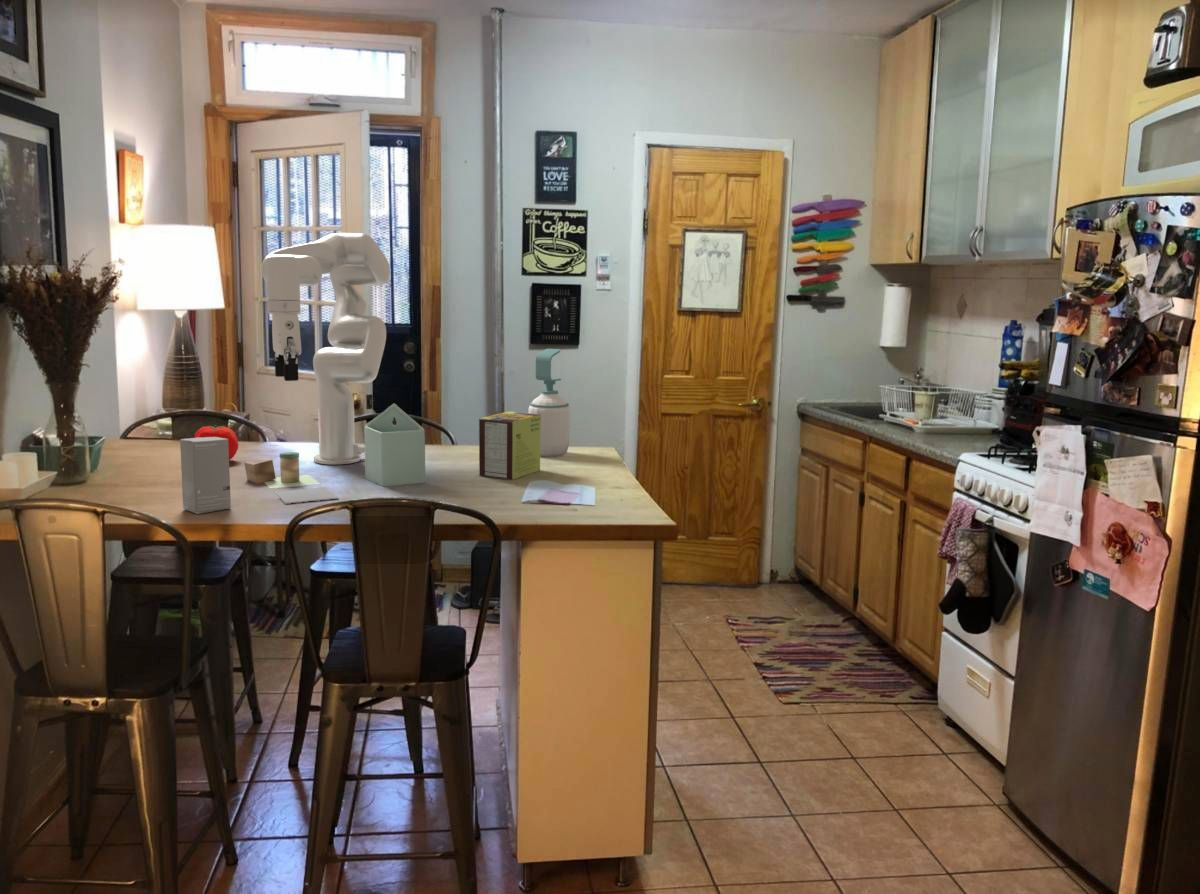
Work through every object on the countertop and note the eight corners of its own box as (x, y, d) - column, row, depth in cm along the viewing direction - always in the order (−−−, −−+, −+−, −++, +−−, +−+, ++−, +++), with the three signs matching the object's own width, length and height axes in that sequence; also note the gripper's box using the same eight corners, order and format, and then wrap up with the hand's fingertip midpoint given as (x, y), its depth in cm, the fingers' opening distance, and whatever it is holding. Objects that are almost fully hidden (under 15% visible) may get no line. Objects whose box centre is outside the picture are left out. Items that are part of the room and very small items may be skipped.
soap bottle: (577, 453, 283) (579, 349, 277) (553, 460, 272) (555, 351, 267) (543, 449, 289) (545, 346, 283) (519, 454, 279) (520, 349, 273)
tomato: (183, 463, 254) (181, 426, 253) (215, 456, 265) (213, 420, 263) (217, 468, 250) (215, 429, 248) (248, 460, 261) (247, 424, 259)
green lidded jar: (297, 478, 238) (296, 451, 237) (301, 482, 234) (301, 454, 233) (278, 480, 236) (277, 452, 234) (282, 483, 232) (281, 455, 230)
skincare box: (196, 515, 202) (192, 442, 199) (181, 509, 207) (177, 438, 204) (233, 508, 208) (230, 438, 206) (218, 503, 213) (214, 433, 210)
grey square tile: (325, 488, 229) (324, 487, 229) (338, 499, 219) (338, 497, 219) (273, 493, 223) (273, 491, 223) (285, 504, 213) (285, 502, 213)
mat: (308, 476, 243) (308, 474, 243) (320, 485, 233) (320, 483, 233) (260, 480, 237) (260, 478, 237) (270, 490, 227) (270, 488, 227)
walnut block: (266, 476, 238) (263, 457, 237) (275, 479, 235) (272, 459, 234) (247, 481, 235) (244, 462, 234) (256, 484, 232) (253, 464, 230)
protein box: (540, 470, 258) (541, 414, 255) (512, 480, 244) (512, 421, 241) (507, 466, 262) (508, 410, 259) (477, 476, 248) (478, 417, 246)
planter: (351, 484, 235) (349, 405, 232) (366, 477, 243) (364, 401, 239) (413, 488, 232) (412, 409, 228) (425, 482, 240) (425, 405, 236)
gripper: (308, 309, 222) (311, 381, 225) (291, 306, 236) (294, 374, 239) (275, 309, 218) (278, 383, 221) (260, 306, 233) (263, 375, 236)
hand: (286, 378), depth 230 cm, fingers open, 9 cm apart
